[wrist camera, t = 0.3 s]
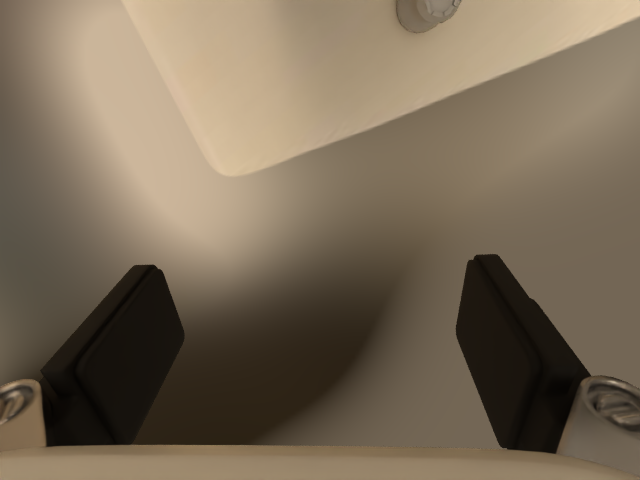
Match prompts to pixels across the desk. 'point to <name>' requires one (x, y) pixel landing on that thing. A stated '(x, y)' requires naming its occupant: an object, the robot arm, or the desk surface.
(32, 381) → the robot arm
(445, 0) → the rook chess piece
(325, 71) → the desk surface
